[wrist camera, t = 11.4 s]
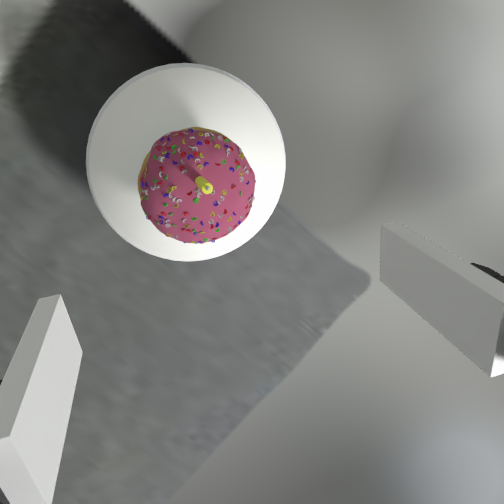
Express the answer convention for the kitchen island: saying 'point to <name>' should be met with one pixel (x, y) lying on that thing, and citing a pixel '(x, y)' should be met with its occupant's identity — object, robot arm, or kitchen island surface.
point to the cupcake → (196, 185)
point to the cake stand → (174, 119)
